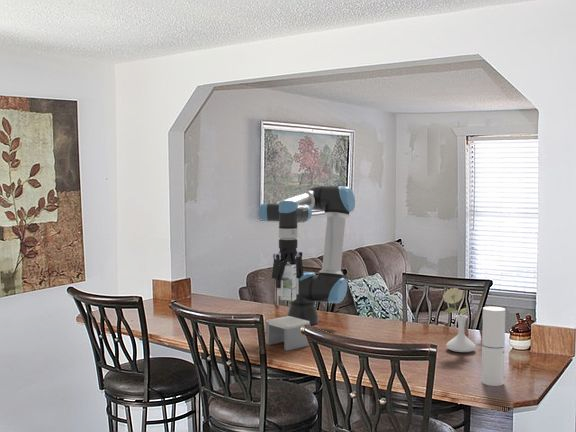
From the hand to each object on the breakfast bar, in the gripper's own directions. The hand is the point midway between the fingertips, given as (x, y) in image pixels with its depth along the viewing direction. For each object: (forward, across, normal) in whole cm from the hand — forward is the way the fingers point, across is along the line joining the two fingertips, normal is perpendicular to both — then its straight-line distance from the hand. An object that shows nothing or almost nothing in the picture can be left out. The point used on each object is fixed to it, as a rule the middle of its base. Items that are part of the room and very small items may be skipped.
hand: (287, 294), depth 269 cm
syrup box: (+2, 0, 0) cm, 2 cm away
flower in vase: (+21, +46, -50) cm, 71 cm away
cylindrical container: (+21, +21, -81) cm, 86 cm away
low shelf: (+21, 0, 0) cm, 21 cm away
